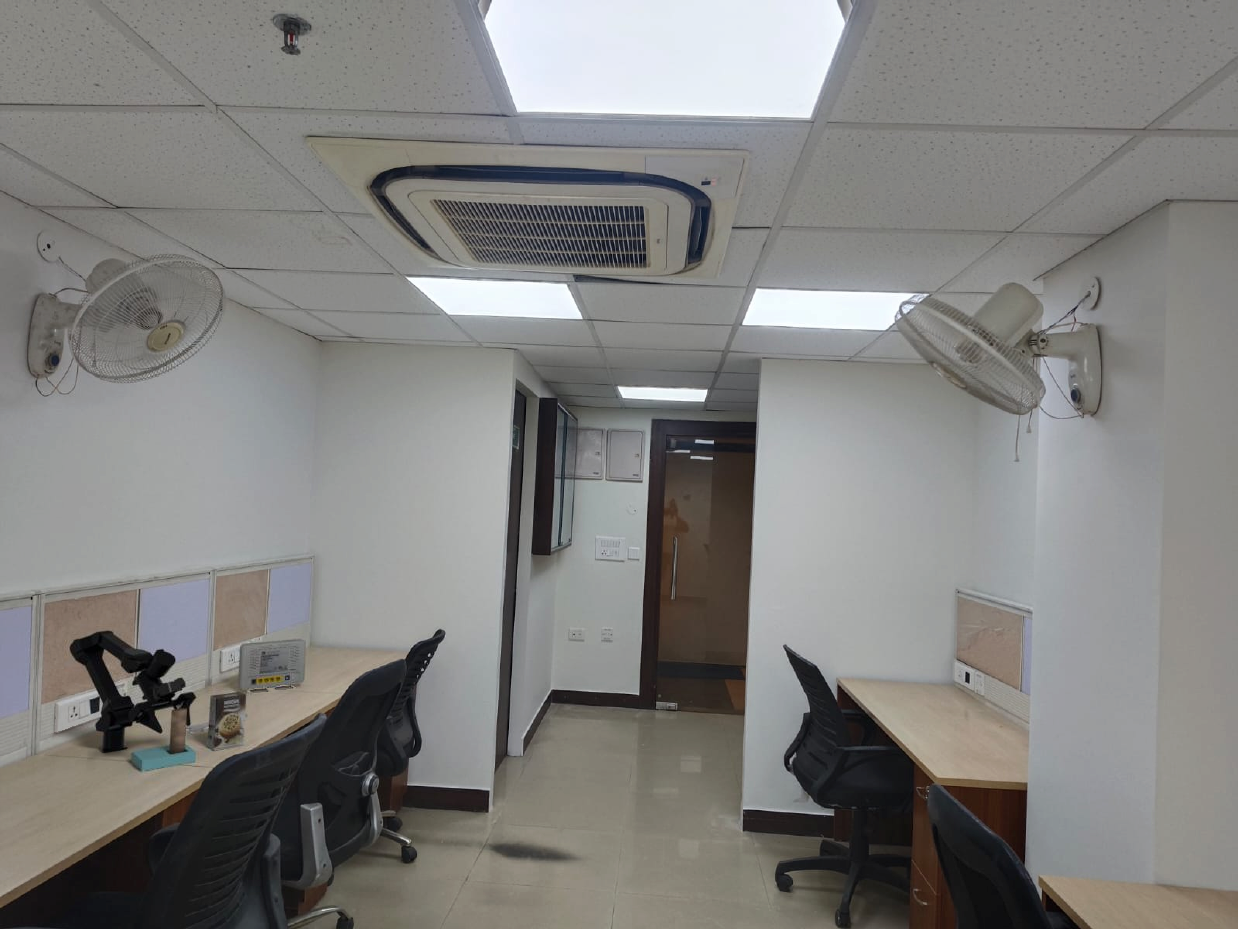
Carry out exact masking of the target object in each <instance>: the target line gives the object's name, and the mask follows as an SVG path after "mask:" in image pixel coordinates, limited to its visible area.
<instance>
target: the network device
mask: <svg viewBox="0 0 1238 929" xmlns="http://www.w3.org/2000/svg"><path fill="white" fill-rule="evenodd" d="M306 653H307V642H306V640H304V639H301V638H297V639H296V638H295V639H283V640H272V641H270V640H269V641H260V642H259V641H258V642H246V643H245V642H244V643H242V644H241V645H240V647H239V658H238V659H239V660H238V675H237V677H238V678H237V685H238V688H239V689H241V690H245V691H247V690H248V689H254V688H263V687H267V688H276V686H280V685H295V684H296V685H297V684H303V683H304V682H305V677H306V676H305V675H306V657H307V654H306ZM276 689H277V688H276Z"/></svg>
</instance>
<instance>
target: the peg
mask: <svg viewBox="0 0 1238 929" xmlns="http://www.w3.org/2000/svg"><path fill="white" fill-rule="evenodd" d="M170 713H171V715H170V716H171V717H170V734H169V736H170V737H169V745H170V751H169V754H170V755H171V754H177V753H182V752H185V744H186V735H187V734H186V733H187V731H186V726H187V725H186V717H187V709H184V708H181V709H174V708H173V709H172V710H171V712H170Z"/></svg>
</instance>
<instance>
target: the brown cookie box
mask: <svg viewBox="0 0 1238 929" xmlns="http://www.w3.org/2000/svg"><path fill="white" fill-rule="evenodd" d="M246 702H247V694H245V693H243V692H239V691H237V692H228V693H222V694H214V695H210V700H209V718H208V723H209V728H207V743H206V745H207V746H206V747H207V748H209V749H211V750H212V751H221V750H225V749H231V748H236V747H241V746H242V747H243V746H244V741H245V725H246V724H245V723H246V718H245V714H246V704H247V703H246Z"/></svg>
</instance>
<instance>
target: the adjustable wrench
mask: <svg viewBox="0 0 1238 929" xmlns="http://www.w3.org/2000/svg"><path fill="white" fill-rule="evenodd" d="M245 717H247V718H248V714H246V713H245ZM206 727H209V722H205V723H201V724H194V725H192V724H191V725H190V726H187V725H186V729H189V731H188V732H197V733H199V732H198V731H200V732H202V731H201V730H205V729H204V728H206ZM206 729H207V728H206Z"/></svg>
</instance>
